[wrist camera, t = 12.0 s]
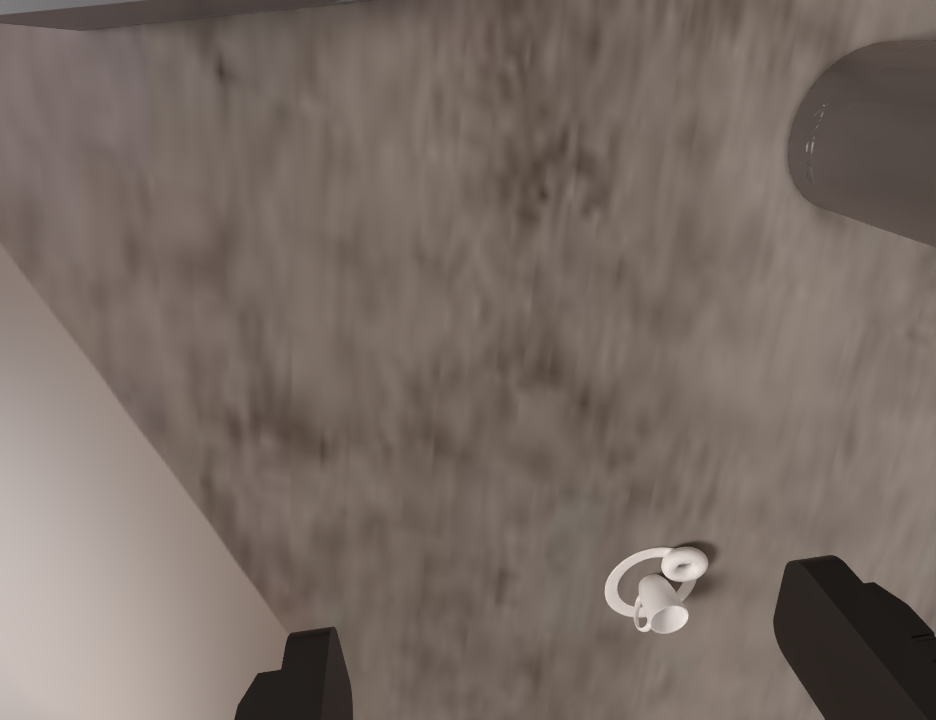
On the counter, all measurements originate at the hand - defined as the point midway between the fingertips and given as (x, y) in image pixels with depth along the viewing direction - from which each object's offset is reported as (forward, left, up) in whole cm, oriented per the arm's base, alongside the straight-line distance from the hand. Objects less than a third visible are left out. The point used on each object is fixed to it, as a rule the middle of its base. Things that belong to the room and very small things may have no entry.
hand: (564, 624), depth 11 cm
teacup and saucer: (-17, +33, -28) cm, 46 cm away
